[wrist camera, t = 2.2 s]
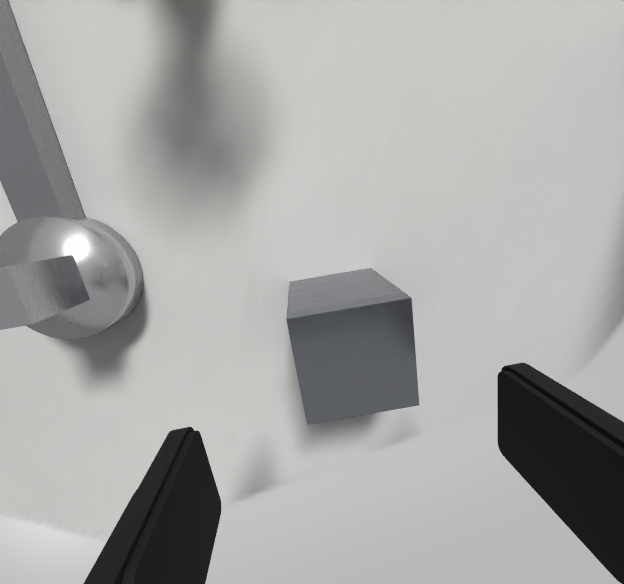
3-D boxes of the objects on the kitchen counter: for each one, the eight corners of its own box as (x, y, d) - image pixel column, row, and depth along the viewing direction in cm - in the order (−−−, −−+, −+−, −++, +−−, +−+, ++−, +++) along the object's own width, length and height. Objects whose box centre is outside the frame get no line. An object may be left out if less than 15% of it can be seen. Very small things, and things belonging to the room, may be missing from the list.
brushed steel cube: (371, 268, 18) (411, 297, 12) (379, 342, 19) (419, 405, 13) (289, 282, 18) (286, 319, 12) (303, 355, 19) (307, 424, 13)
